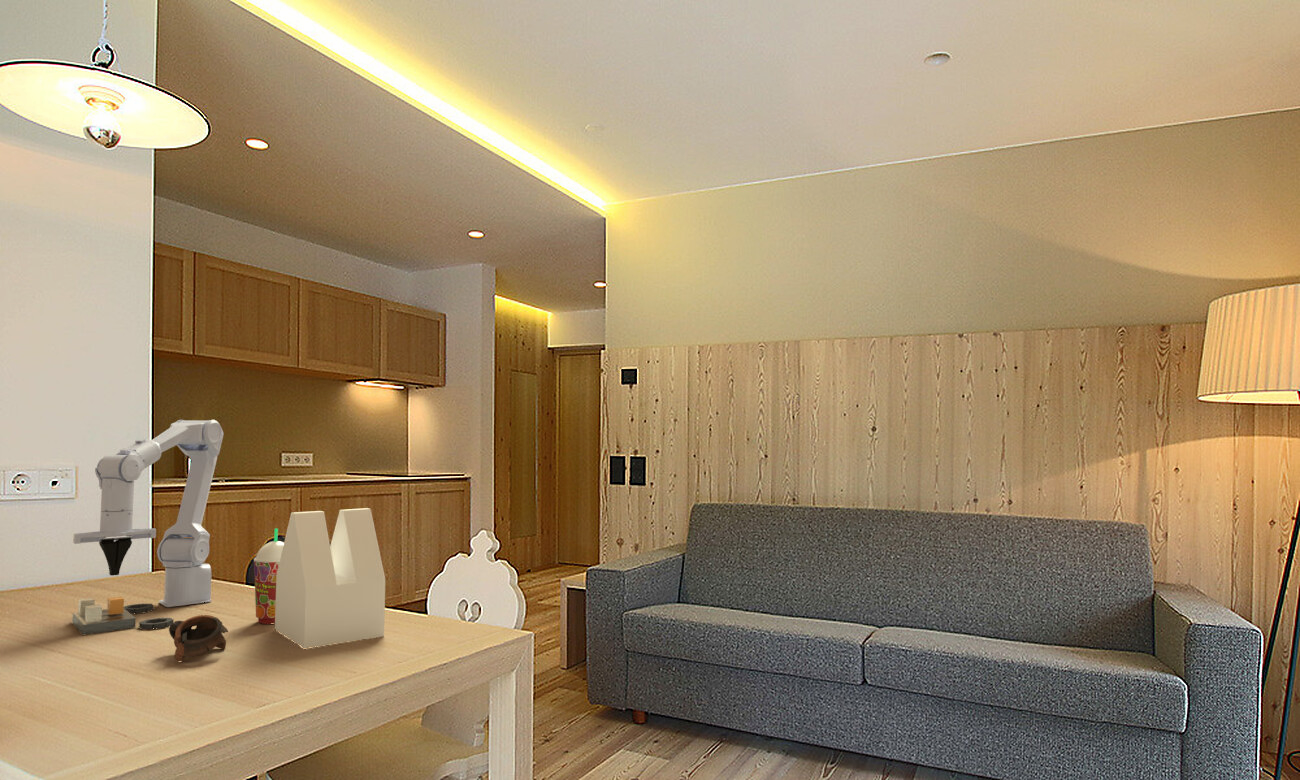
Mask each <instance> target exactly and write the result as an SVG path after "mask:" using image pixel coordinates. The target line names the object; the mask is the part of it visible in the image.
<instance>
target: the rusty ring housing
mask: <svg viewBox="0 0 1300 780" xmlns="http://www.w3.org/2000/svg"><path fill="white" fill-rule="evenodd" d="M193 627H195V628H193ZM168 632H169V635H170V637H171V638H172V640H173V644H174V647H175V648H176V649H175V653H174V655H173V656H174V660H175V661H176V662H178V661H182V662H183V661H184V660H185V659H187V658H190V657H194V656H198V655H202V654H206V653H208V652H209V650H213V649H215V648H218V649H220V648H222V649H225V650H226V646H227V640H226V639H225V637H224V635H223V634H225V633H228V632H229V630H228V628H226V626H224V624H223V622H222V621H221V620H220V618H218V617H215V616H214V615H210V614H204V615H203V614H199V615H195V616H192V617H190V618H187V619H185V620H175V621H173V624H171V625H170V627H168ZM222 649H221V650H222Z"/></svg>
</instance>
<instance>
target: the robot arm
mask: <svg viewBox="0 0 1300 780" xmlns="http://www.w3.org/2000/svg"><path fill="white" fill-rule="evenodd" d="M223 438H224V431H223V429H222V426H221V424H220V423H219V421H217V420H215V419H211V420H210V419H208V420H184V419H178V420H177V421H175V422H173V423H170V426H169V428H168V429H166V430H165V431H163V432H162V433H159V435H157V436H156V437H154V438H153V439H148V438H138V439H136V440H135V441H134V442H135V443H133V444H132V445H129V446H128V447H127V448H122V449H120V450H119V451H118V452H117V453H116V454H106V455H105V456H103V457H102V458H101V459H100V460H99V461H98V463H97V465H96V467H95V468H94V472H95V475H96V478H97V479H98V487H99V489H100V490H101V494H100V495H101V496H100V497H101V498H100V516H99V517H100V520H99V523H100V524H99V531H90V532H78V533H73V541H72V543H73V544H75V545H76V544H84V543H85V544H86V543H97V542H98V544H99V546H100V548H101V550H102V551H103V554H104V557H105V560H106V562H107V567H108V572H109V576H120V570H121V567H122V564H123V561H124V559H125V557H126V555H127V553H128V551H129V549H131V546H132V545H133V541H132V540H135V539H137V540H140V539H155V538H156V537H157V529H156V528H155V527H154V528H153V527H152V528H135V529H134V528H133V515H134V510H133V509H134V494H135V493H134V491H135V481H137V480H138V479H139V478H140V476H141V474H142V472H143V471H144V470H145V469H146V468H148V467H149V466H151V465H153V464H155V463H156V462H159V460H160V459H161V457H162V453H163V452H165V451H167V450H169V449H171V448H174V447H176V446H177V447H178V448H179V450H180V451H182V452H181V453H183V454H184V455H185V456H187V457H189V459H190V460H191V463H190V466H189V471H188V475H187V478H186V483H185V486H184V490H183V491H184V492H183V494H182V495H183V496H182V499H181V502H180V506H179V510H178V514H177V515H178V516H177V519H176V522H175V524H173V525H171V526H170V527H169V528H168V529H166V530H165V531H164V535H163V537H162V539H161V541H160V542H159V544H158V546H157V551H156V555H157V558H158V560H159V562H161V563H162V567H165V568H164V569H165V570H164V571H165V572H164V595H163V596H164V597H163V599H159V600H158V602H159V603H160V604H161V605H162V606H164V607H166V608H173V607H180V606H187V605H194V604H195V605H197V604H205V603H210V602H212V599H211V598H212V567H211V565H210V564H209V563H205V561H206V560H207V558H208V556H209V555H210V537H211V534H210V533H209V532H208V531H207V530H206V529H205V528H204V527H203V526H202V523H203V519H204V517H205V516H204V515H205V511H206V508H207V503H208V498H209V494H210V490H211V485H212V482H213V477H214V472H215V469H216V465H217V460H218V456H219V455H220V451H221V447H222V442H223V440H224V439H223ZM204 602H205V603H204Z"/></svg>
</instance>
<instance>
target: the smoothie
mask: <svg viewBox="0 0 1300 780" xmlns="http://www.w3.org/2000/svg"><path fill="white" fill-rule="evenodd" d="M278 532H279V528H274V532H273V533H274V535H273V541H269V542H268V543H267V542H266V544H264V545H263V546H261V548H259V549H258V551H257V553H256V556H255V557H254V558H253V561H254V562H253V566H254V568H253V569H254V570H253V571H254V600H255V618H256V619H257V620H258V623H259V624H261V623H263V624H262V625H272V624H271V623H275V609H276V577H277V571H278V566H279V562H280V558H281V554H282V549H283V545H284V541H280V540H278V538H279V537H278V535H279V533H278Z"/></svg>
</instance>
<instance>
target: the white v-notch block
mask: <svg viewBox="0 0 1300 780" xmlns="http://www.w3.org/2000/svg"><path fill="white" fill-rule="evenodd" d="M336 519H337V520H336V524H335V527H334V530H333V534H332V538H331V542H330V538H329V533H328V527H327V521H326V520H327V519H326V515H325V511H322V510H316V511H315V510H313V511H311V510H310V511H298V512H297V511H295V512H294V511H293V512H290V516H289V520H288V524H287V525H288V526H287V529H286V533H285V536H284V537H285V538H284V540H283V542H284V545H283V549H282V554H281V558H280V562H279V566H278V571H277V577H276V609H275V624H274V630H275V629H276V630H277V631H279V632H280V633H282V634H283V635H285V636H287V637H288V638H290V639H291V640H293V641H294V642H296V643H297V644H299V645H301V646H302V647H303V648H309V647H315V646H316V647H317V646H323V645H329V644H334V643H341V642H347V641H354V640H360V641H363V640H362V639H366V640H370V638H371V639H375V638H376V637H377V638H382V636H383V637H385V613H386V612H385V611H386V610H385V609H386V608H385V604H386V576H385V571H384V565H383V562H382V556H381V552H380V547H379V542H378V538H377V533H376V528H375V522H374V519H373V513H372V509H371V508H368V507H364V508H352V509H351V508H350V509H349V508H348V509H339V512H338V515H337V518H336ZM277 631H276V632H277ZM280 633H279V634H280ZM283 635H282V636H283ZM377 638H376V639H377ZM354 642H355V641H354Z"/></svg>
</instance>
